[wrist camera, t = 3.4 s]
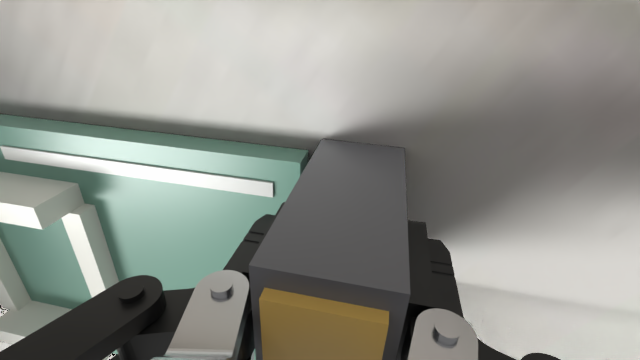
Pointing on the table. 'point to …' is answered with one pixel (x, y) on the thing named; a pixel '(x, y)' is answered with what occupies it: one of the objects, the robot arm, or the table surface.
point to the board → (122, 210)
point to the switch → (336, 260)
